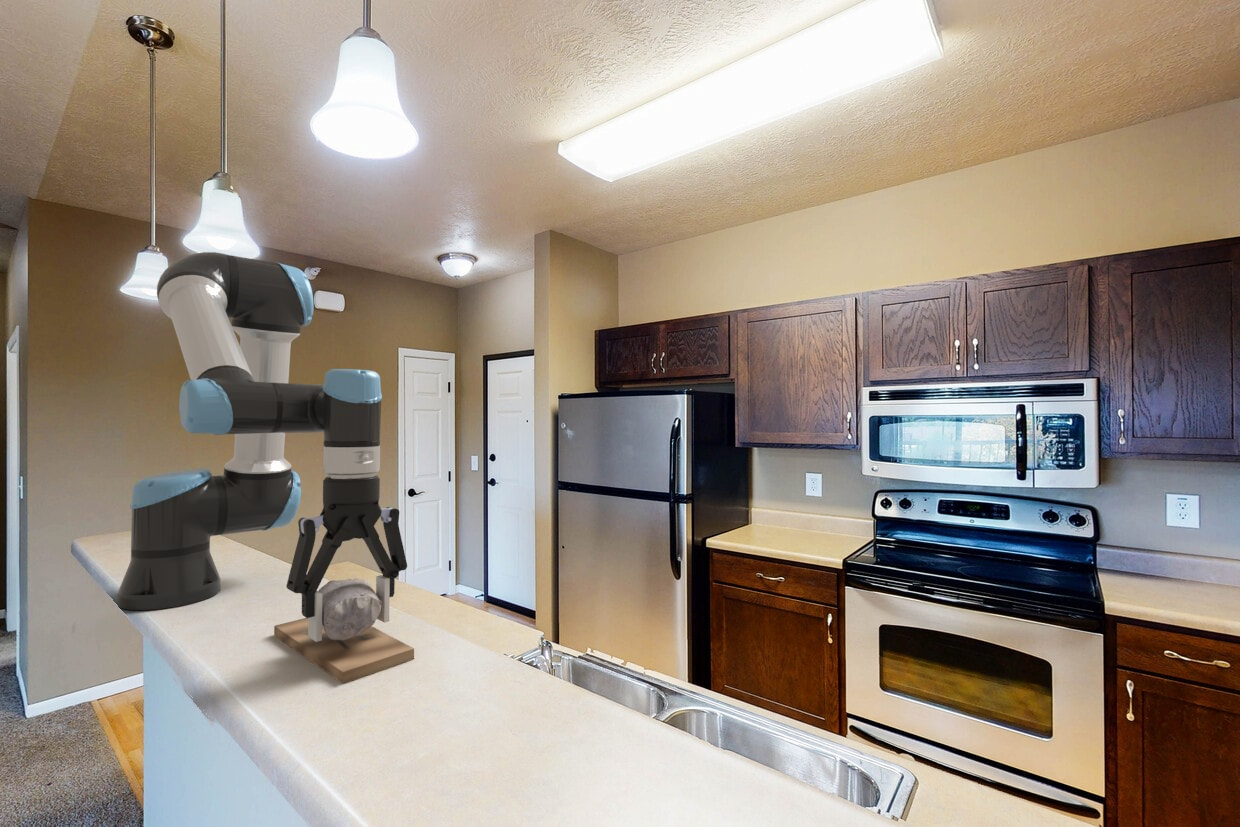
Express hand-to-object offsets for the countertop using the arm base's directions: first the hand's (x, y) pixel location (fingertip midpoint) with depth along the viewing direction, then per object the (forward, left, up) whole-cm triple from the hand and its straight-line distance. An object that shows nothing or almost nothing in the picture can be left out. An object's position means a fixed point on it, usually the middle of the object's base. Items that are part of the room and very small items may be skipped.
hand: (350, 628), depth 84 cm
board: (-3, 0, -3) cm, 4 cm away
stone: (0, 0, -1) cm, 1 cm away
